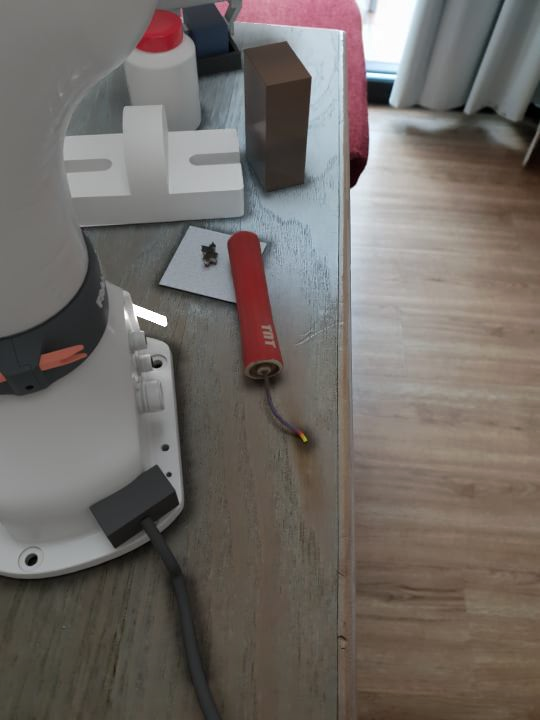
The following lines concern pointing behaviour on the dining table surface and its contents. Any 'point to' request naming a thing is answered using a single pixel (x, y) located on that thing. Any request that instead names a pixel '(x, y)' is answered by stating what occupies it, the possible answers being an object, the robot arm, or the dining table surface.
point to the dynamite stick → (255, 313)
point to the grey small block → (202, 265)
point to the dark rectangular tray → (220, 61)
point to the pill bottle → (166, 72)
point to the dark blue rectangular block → (207, 29)
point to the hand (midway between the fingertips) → (206, 37)
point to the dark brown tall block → (276, 114)
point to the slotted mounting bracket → (153, 172)
